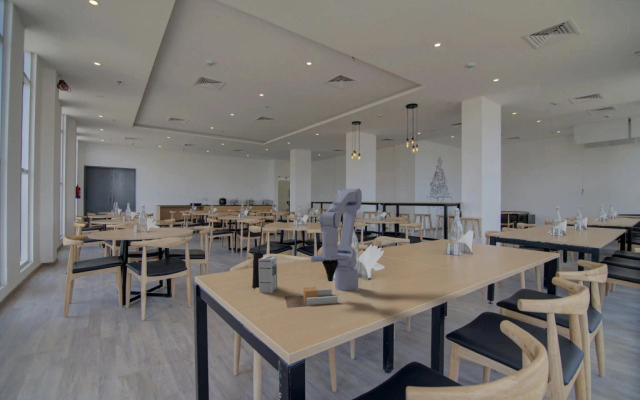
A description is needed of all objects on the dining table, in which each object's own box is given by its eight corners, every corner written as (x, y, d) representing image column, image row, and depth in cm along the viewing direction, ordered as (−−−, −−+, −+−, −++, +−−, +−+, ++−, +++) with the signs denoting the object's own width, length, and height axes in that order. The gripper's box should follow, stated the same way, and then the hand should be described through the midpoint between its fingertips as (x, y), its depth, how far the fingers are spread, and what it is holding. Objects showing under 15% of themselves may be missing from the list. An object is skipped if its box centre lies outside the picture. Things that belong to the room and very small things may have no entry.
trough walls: (331, 294, 116) (331, 288, 116) (337, 302, 106) (337, 296, 106) (303, 296, 114) (303, 290, 114) (307, 305, 104) (307, 298, 104)
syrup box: (272, 295, 117) (272, 259, 117) (258, 294, 119) (258, 258, 119) (277, 291, 123) (277, 256, 123) (264, 290, 124) (263, 255, 124)
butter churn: (243, 291, 124) (242, 223, 124) (246, 284, 133) (246, 222, 133) (265, 290, 124) (265, 223, 124) (267, 283, 134) (267, 221, 134)
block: (315, 297, 112) (315, 286, 112) (317, 301, 107) (317, 290, 107) (303, 298, 111) (303, 287, 111) (305, 302, 106) (305, 291, 106)
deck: (330, 295, 117) (330, 293, 117) (338, 306, 105) (338, 303, 105) (284, 299, 113) (284, 296, 113) (287, 310, 101) (287, 307, 101)
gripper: (312, 246, 105) (312, 284, 105) (351, 245, 108) (352, 282, 108) (309, 243, 112) (309, 279, 112) (346, 242, 115) (346, 277, 115)
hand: (330, 280), depth 110 cm, fingers closed
